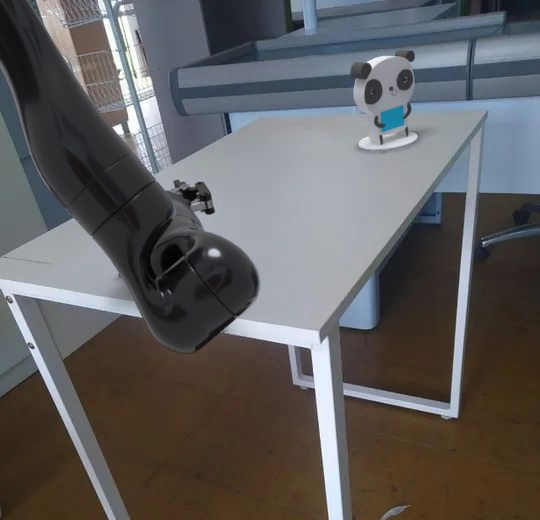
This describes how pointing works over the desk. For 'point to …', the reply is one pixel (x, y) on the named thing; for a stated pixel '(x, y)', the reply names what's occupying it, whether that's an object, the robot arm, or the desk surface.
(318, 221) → the desk surface
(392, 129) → the panda figurine
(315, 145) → the desk surface
